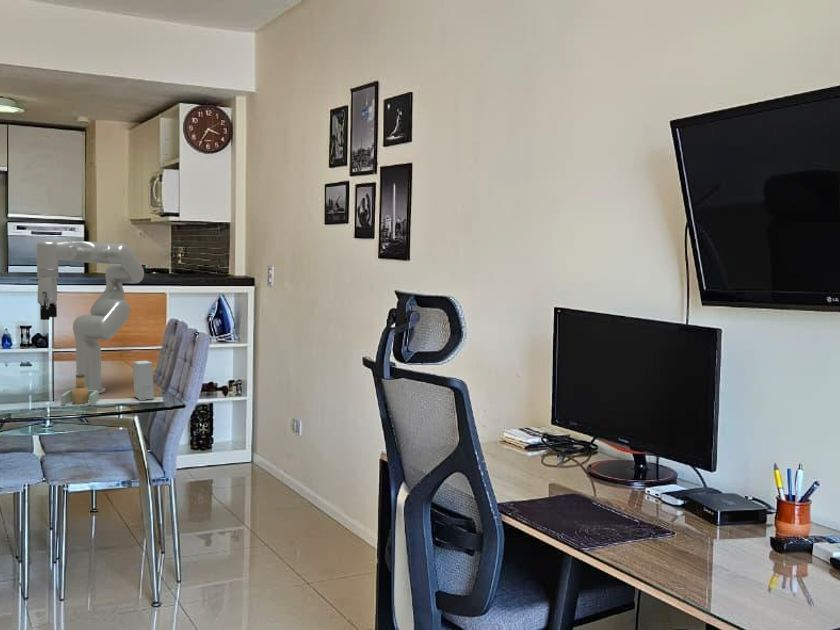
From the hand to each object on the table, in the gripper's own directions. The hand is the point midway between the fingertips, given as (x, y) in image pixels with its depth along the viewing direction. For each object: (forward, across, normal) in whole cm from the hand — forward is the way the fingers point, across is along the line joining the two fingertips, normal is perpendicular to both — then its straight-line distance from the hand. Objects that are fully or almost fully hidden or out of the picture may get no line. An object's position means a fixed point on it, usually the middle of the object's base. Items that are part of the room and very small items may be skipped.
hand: (48, 318), depth 343 cm
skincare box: (+32, -5, +34) cm, 47 cm away
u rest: (+32, +4, +12) cm, 35 cm away
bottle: (+32, +4, +12) cm, 35 cm away
